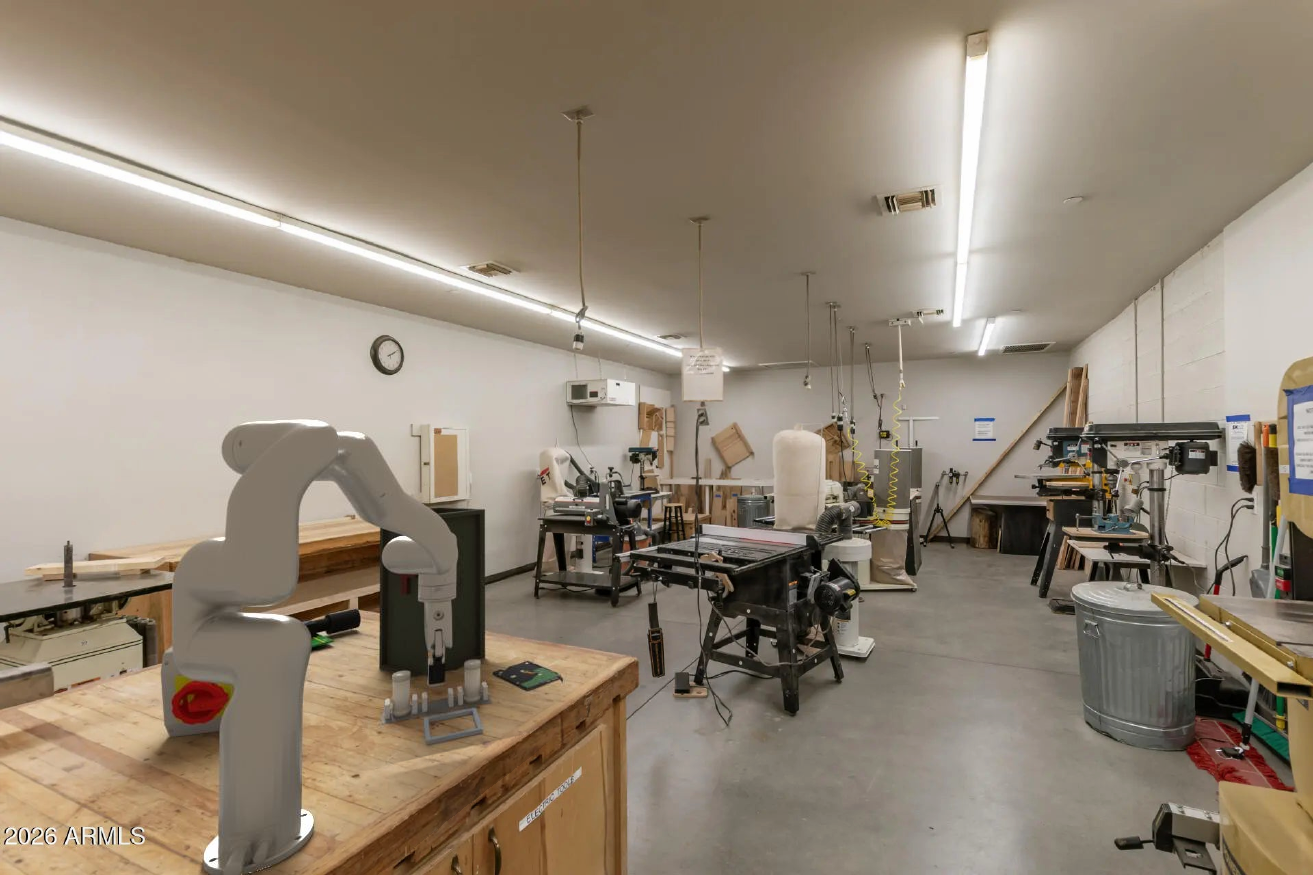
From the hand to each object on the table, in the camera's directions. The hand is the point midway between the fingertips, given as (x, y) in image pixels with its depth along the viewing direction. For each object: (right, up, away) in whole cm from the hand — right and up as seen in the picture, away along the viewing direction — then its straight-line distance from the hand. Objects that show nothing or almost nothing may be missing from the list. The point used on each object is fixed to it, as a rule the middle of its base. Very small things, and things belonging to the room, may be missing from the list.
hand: (436, 679), depth 117 cm
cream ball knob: (+7, -6, +3) cm, 9 cm away
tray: (+7, -7, -9) cm, 13 cm away
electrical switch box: (-42, -8, -5) cm, 43 cm away
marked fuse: (0, -1, 0) cm, 1 cm away
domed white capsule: (-6, -6, -3) cm, 9 cm away
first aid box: (-13, -9, +30) cm, 33 cm away
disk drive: (+15, -9, +16) cm, 24 cm away
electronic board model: (-56, -10, +46) cm, 73 cm away
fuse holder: (0, -7, 0) cm, 7 cm away
